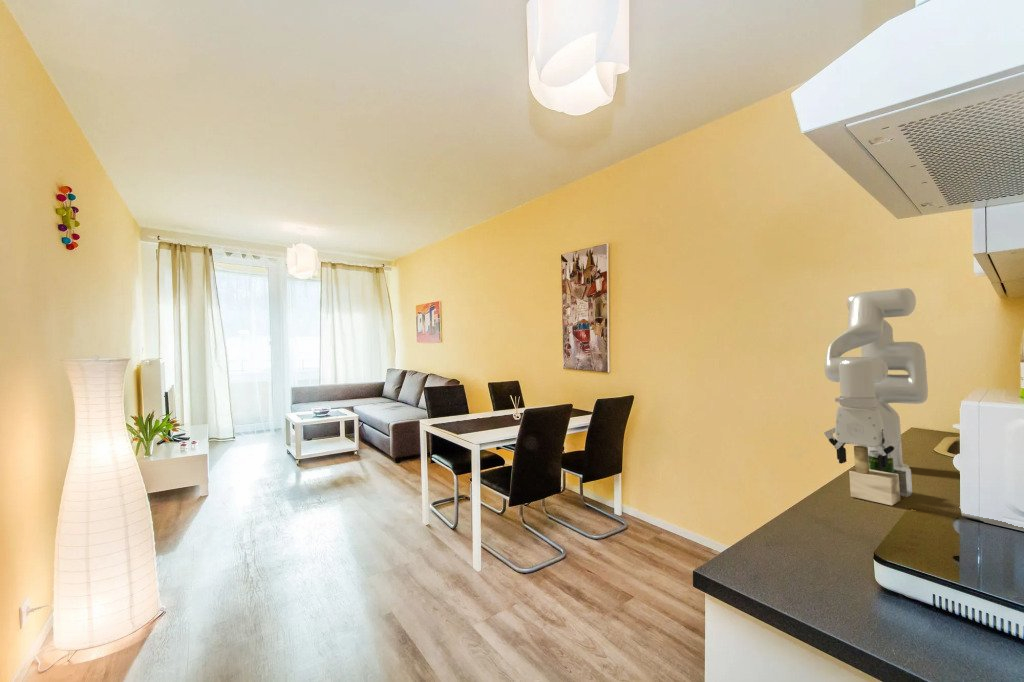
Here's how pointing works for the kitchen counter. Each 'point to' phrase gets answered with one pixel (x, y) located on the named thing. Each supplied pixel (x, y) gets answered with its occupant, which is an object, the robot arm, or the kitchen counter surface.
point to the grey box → (904, 480)
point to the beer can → (874, 461)
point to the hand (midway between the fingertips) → (861, 465)
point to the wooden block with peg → (872, 481)
